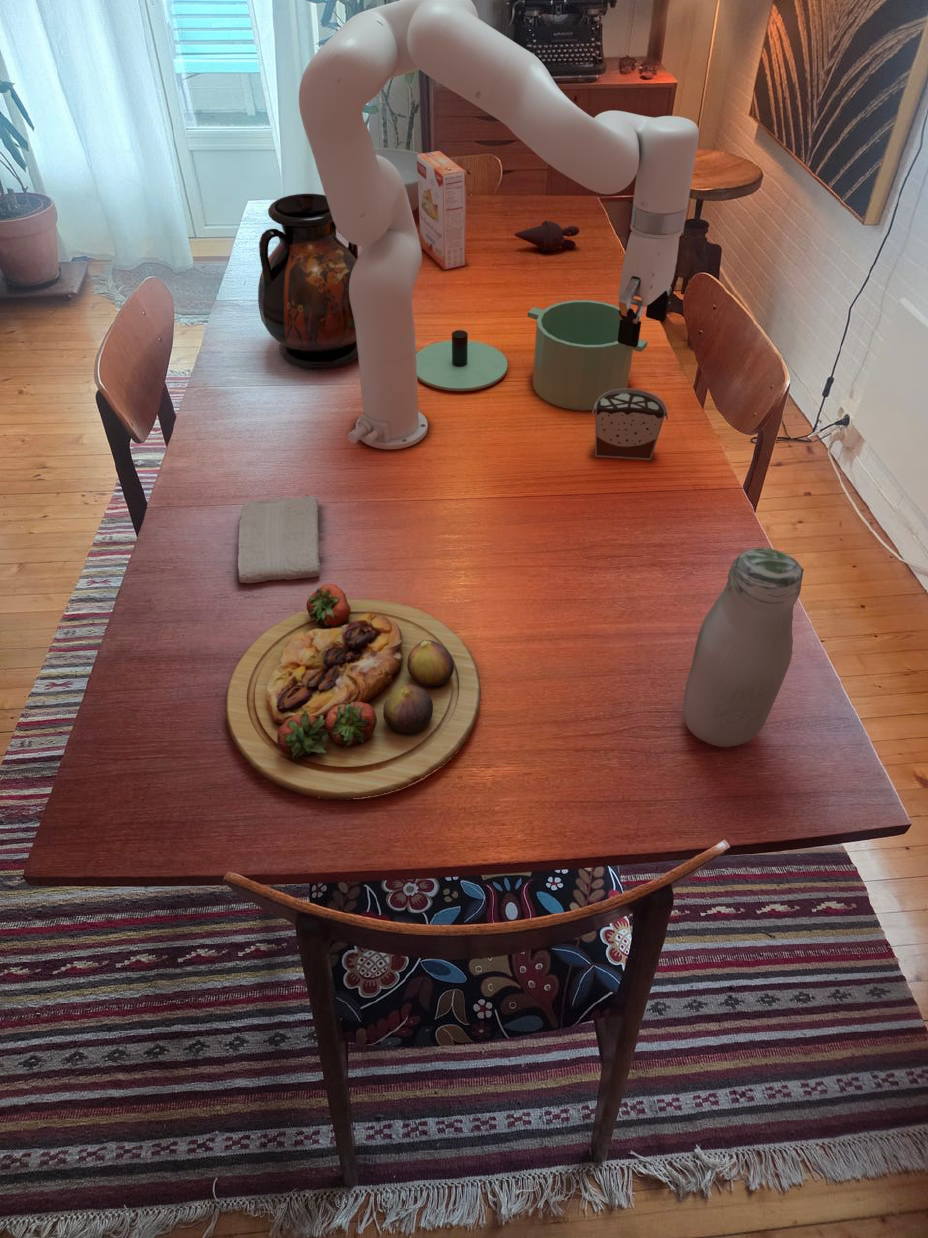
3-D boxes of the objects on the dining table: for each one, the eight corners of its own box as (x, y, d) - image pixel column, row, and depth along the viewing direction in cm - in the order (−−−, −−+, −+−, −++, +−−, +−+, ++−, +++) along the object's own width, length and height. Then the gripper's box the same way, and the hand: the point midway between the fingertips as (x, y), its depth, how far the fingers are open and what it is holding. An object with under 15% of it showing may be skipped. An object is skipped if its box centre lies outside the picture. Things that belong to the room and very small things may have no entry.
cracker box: (418, 247, 209) (415, 152, 194) (441, 243, 211) (440, 149, 196) (442, 271, 200) (441, 173, 185) (466, 266, 202) (467, 169, 187)
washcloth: (319, 504, 140) (317, 488, 137) (323, 580, 127) (321, 564, 125) (243, 511, 138) (239, 495, 136) (240, 589, 126) (236, 573, 124)
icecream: (518, 231, 200) (582, 235, 202) (515, 210, 204) (579, 214, 206) (513, 257, 206) (576, 261, 208) (511, 236, 210) (572, 240, 211)
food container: (657, 439, 153) (667, 388, 146) (659, 460, 148) (669, 408, 141) (586, 435, 154) (592, 384, 146) (586, 455, 149) (592, 404, 142)
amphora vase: (343, 316, 184) (329, 174, 164) (397, 359, 172) (389, 211, 152) (248, 344, 176) (222, 198, 156) (297, 392, 163) (275, 240, 143)
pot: (612, 425, 156) (622, 361, 147) (503, 387, 165) (505, 324, 156) (655, 382, 166) (666, 320, 157) (550, 348, 175) (555, 287, 166)
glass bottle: (744, 696, 112) (806, 526, 92) (766, 762, 105) (838, 593, 85) (667, 698, 112) (713, 527, 92) (684, 764, 105) (737, 595, 85)
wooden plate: (242, 614, 122) (231, 570, 116) (470, 604, 124) (471, 560, 118) (212, 813, 100) (196, 771, 94) (491, 797, 102) (493, 754, 96)
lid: (473, 404, 161) (473, 368, 155) (392, 374, 168) (390, 339, 163) (525, 362, 171) (527, 327, 166) (447, 336, 178) (447, 302, 173)
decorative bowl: (339, 243, 210) (334, 190, 202) (321, 202, 228) (316, 152, 220) (447, 232, 215) (447, 180, 207) (422, 192, 233) (420, 143, 225)
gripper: (660, 193, 130) (644, 303, 142) (605, 232, 120) (593, 348, 132) (707, 203, 127) (687, 315, 139) (656, 244, 117) (639, 361, 129)
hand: (641, 331), depth 136 cm, fingers open, 9 cm apart
